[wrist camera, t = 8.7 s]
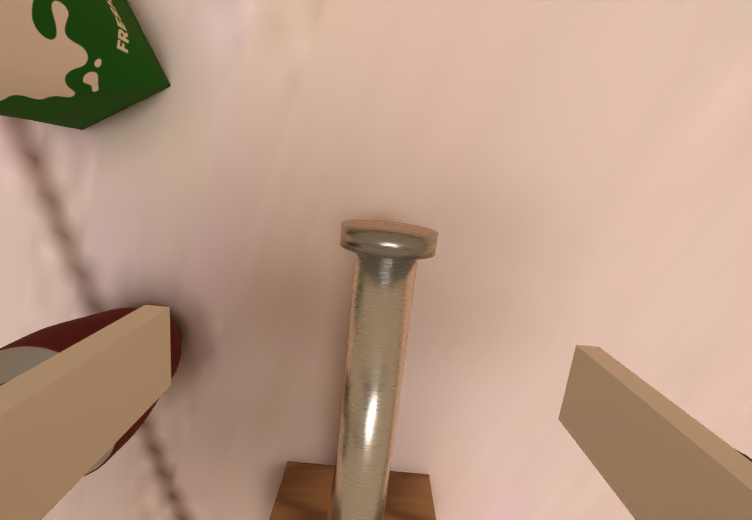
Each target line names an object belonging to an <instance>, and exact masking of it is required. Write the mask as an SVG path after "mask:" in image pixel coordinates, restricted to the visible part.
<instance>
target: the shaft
mask: <svg viewBox="0 0 752 520" xmlns="http://www.w3.org/2000/svg"><path fill="white" fill-rule="evenodd" d="M437 237H438V233H437V232H436V231H434V230H431V229H428V228H424V227H420V226H415V225H409V224H403V223H396V222H387V221H374V220H350V221H344V222H342V229H341V242H340V245H341V246H342V247H343V248H345V249H347V250H350V251H353V252H356V260H355V271H354V282H353V293H352V303H351V314H350V325H349V336H348V347H347V357H346V368H345V379H344V390H343V400H342V411H341V422H340V433H339V444H338V454H337V465H336V476H335V487H334V498H333V508H332V519H331V520H383V518H384V511H385V503H386V495H387V488H388V480H389V473H390V465H391V457H392V450H393V442H394V434H395V427H396V419H397V412H398V404H399V396H400V389H401V381H402V373H403V366H404V358H405V351H406V343H407V335H408V328H409V320H410V312H411V305H412V297H413V290H414V282H415V274H416V267H417V259H426V258H431V257H433V256H434V255H435V251H436V244H437Z"/></svg>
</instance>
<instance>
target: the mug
mask: <svg viewBox="0 0 752 520" xmlns="http://www.w3.org/2000/svg"><path fill="white" fill-rule="evenodd" d="M137 309H139V308H120V309H114V310H110V311H106V312H102V313H98V314H94V315H90V316H86V317H83V318H79V319H75V320H71V321H67V322H63V323H60V324H56V325H53V326H50V327H47V328H44V329H42V330H39V331H37V332H34V333H32V334H30V335H27V336H25V337H23V338H21V339H19V340H17V341H15V342H13V343H11V344H8V345H6V346H4V347H2V348H0V384H2V383H5V382H8V381H10V380H12V379H14V378H15V377H17V376H19V375H21V374H23V373H24V372H26V371H28V370H30V369H31V368H33V367H35V366H37V365H39V364H40V363H42V362H44V361H46V360H48V359H49V358H51V357H53V356H55V355H56V354H58V353H60V352H62V351H64V350H65V349H67V348H69V347H71V346H72V345H74V344H76V343H78V342H80V341H81V340H83V339H85V338H87V337H89V336H90V335H92V334H94V333H96V332H97V331H99V330H101V329H103V328H105V327H106V326H108V325H110V324H112V323H114V322H115V321H117V320H119V319H121V318H122V317H124V316H126V315H128V314H130V313H131V312H133V311H135V310H137ZM170 348H171V379H172V377H173V376H174V374H175V372H176V370H177V367H178V364H179V360H180V355H181V333H180V330H179V328H178V326H177V324H176V323H175V322H174V321H173V320H172V319H171V318H170ZM159 398H160V397H159ZM157 401H158V400H157ZM157 401H156V402H157ZM156 402H155V403H154V404H153V405H152V406H151V407H150V408H149V409H148V410H147V411H146V412H145V413H144V414H143V415H142V416H141V417H140V418H139V419H138V420H137V421H136V422H135V423H134V424H133V425H132V426H131V427H130V428H129V429H128V431H127V432H126V433H125V434H124V435H123V436H122V437H121V438H120V439H119V440H118V441H117V442H116V443H115V444H114V445H113V446H112V447H111V448H110V449H109V450H108V451H107V452H106V453H105V454H104V455H103V456H102V457H101V458H100V459H99V460H98V461H97V463H96V464H95V465H94V466H93V467H92V468H91V469H90V470H89V471H88V472H87V473H86V474H85V475H88V474H90V473H92V472H94V471H95V470H97V469H98V468H100V467H101V466H102V465H104V464H105V463H106V462H107V461H108V460H109V459H110V458H111V457H112V456H113V455H114V454H115V453H116V452H117V451H118V450H119V449H120V448H121V447H122V446H123V445H124V444H125V443H126V442H127V441H128V440H129V439H130V438H131V437H132V436H133V435H134V433H135V432H136V431H137V430H138V429H139V427H140V426H141V425H142V424H143V422H144V421H145V419H146V418H147V416H148V415H149V413H150V412H151V410H152V409H153V407H154V406H155V404H156ZM85 475H84V476H85Z"/></svg>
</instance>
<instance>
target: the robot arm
mask: <svg viewBox="0 0 752 520" xmlns="http://www.w3.org/2000/svg"><path fill="white" fill-rule="evenodd" d="M170 386H171V348H170V307H163V306H153V305H144V306H142V307H140V308H139V309H137V310H135V311H133V312H131V313H130V314H128V315H126V316H124V317H122V318H121V319H119V320H117V321H115V322H114V323H112V324H110V325H108V326H106V327H105V328H103V329H101V330H99V331H97V332H96V333H94V334H92V335H90V336H89V337H87V338H85V339H83V340H81V341H80V342H78V343H76V344H74V345H72V346H71V347H69V348H67V349H65V350H64V351H62V352H60V353H58V354H56V355H55V356H53V357H51V358H49V359H48V360H46V361H44V362H42V363H40V364H39V365H37V366H35V367H33V368H31V369H30V370H28V371H26V372H24V373H23V374H21V375H19V376H17V377H15V378H14V379H12V380H10V381H8V382H5V383H2V384H0V520H41V519H42V518H43V517H44V516H45V515H46V514H47V513H48V512H49V511H50V510H51V509H52V508H53V507H54V506H55V505H56V504H57V503H58V502H59V501H60V500H61V499H62V498H63V497H64V496H65V495H66V493H67V492H68V491H69V490H70V489H71V488H72V487H73V486H74V485H75V484H76V483H77V482H78V481H79V480H80V479H81V478H82V477H83V476H84V475H85V474H86V473H87V472H88V471H89V470H90V469H91V468H92V467H93V466H94V465H95V464H96V463H97V461H98V460H99V459H100V458H101V457H102V456H103V455H104V454H105V453H106V452H107V451H108V450H109V449H110V448H111V447H112V446H113V445H114V444H115V443H116V442H117V441H118V440H119V439H120V438H121V437H122V436H123V435H124V434H125V433H126V432H127V431H128V429H129V428H130V427H131V426H132V425H133V424H134V423H135V422H136V421H137V420H138V419H139V418H140V417H141V416H142V415H143V414H144V413H145V412H146V411H147V410H148V409H149V408H150V407H151V406H152V405H153V404H154V403H155V402H156V401H157V400H158V399H159V397H160V396H161V395H162V394H163V393H164V392H165V391H166V390H167V389H168V388H169V387H170ZM559 420H560V422H561V423H562V424H563V426H564V427H565V428H566V429H567V431H568V432H569V433H570V435H571V436H572V437H573V439H574V440H575V441H576V443H577V444H578V445H579V446H580V448H581V449H582V450H583V452H584V453H585V454H586V456H587V457H588V458H589V460H590V461H591V462H592V463H593V465H594V466H595V467H596V469H597V470H598V471H599V473H600V474H601V475H602V476H603V478H604V479H605V480H606V482H607V483H608V484H609V486H610V487H611V488H612V490H613V491H614V492H615V493H616V495H617V496H618V497H619V499H620V500H621V501H622V503H623V504H624V505H625V507H626V508H627V509H628V510H629V512H630V513H631V514H632V516H633V517H634V518H635V520H752V459H750V458H749V457H748V456H746V455H745V454H743V453H741V452H739V451H737V450H736V449H734V448H732V447H731V446H730V445H728V444H727V443H726V442H725V441H723V440H722V439H721V438H719V437H718V436H717V435H715V434H714V433H713V432H711V431H710V430H709V429H707V428H706V427H705V426H703V425H702V424H701V423H699V422H698V421H697V420H695V419H694V418H693V417H691V416H690V415H689V414H687V413H686V412H685V411H683V410H682V409H681V408H679V407H678V406H677V405H675V404H674V403H673V402H671V401H670V400H669V399H667V398H666V397H665V396H663V395H662V394H661V393H659V392H658V391H657V390H655V389H654V388H653V387H651V386H650V385H649V384H647V383H646V382H645V381H643V380H642V379H641V378H639V377H638V376H637V375H635V374H634V373H633V372H631V371H630V370H629V369H628V368H626V367H625V366H624V365H622V364H621V363H620V362H618V361H617V360H616V359H614V358H613V357H612V356H610V355H609V354H608V353H606V352H605V351H604V350H602V349H601V348H600V347H592V346H582V345H576V348H575V352H574V356H573V360H572V365H571V369H570V373H569V377H568V382H567V386H566V390H565V394H564V398H563V403H562V407H561V411H560V415H559Z"/></svg>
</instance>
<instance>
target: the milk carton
mask: <svg viewBox="0 0 752 520" xmlns="http://www.w3.org/2000/svg"><path fill="white" fill-rule="evenodd" d="M169 86H170V84H169V82H168V80H167V78H166V76H165V75H164V73H163V71H162V69H161V67H160V65H159V63H158V61H157V59H156V57H155V55H154V53H153V51H152V49H151V47H150V45H149V43H148V41H147V39H146V37H145V36H144V34H143V32H142V30H141V28H140V26H139V24H138V22H137V20H136V18H135V16H134V14H133V12H132V10H131V8H130V6H129V4H128V2H127V0H0V115H3V116H9V117H15V118H22V119H28V120H34V121H39V122H44V123H49V124H54V125H59V126H65V127H70V128H76V129H80V130H82V129H84V128H86V127H88V126H90V125H92V124H94V123H96V122H98V121H100V120H102V119H104V118H106V117H108V116H110V115H112V114H114V113H116V112H118V111H120V110H122V109H124V108H126V107H128V106H130V105H132V104H134V103H136V102H138V101H140V100H142V99H144V98H146V97H148V96H150V95H152V94H154V93H156V92H158V91H160V90H162V89H164V88H167V87H169Z"/></svg>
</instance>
